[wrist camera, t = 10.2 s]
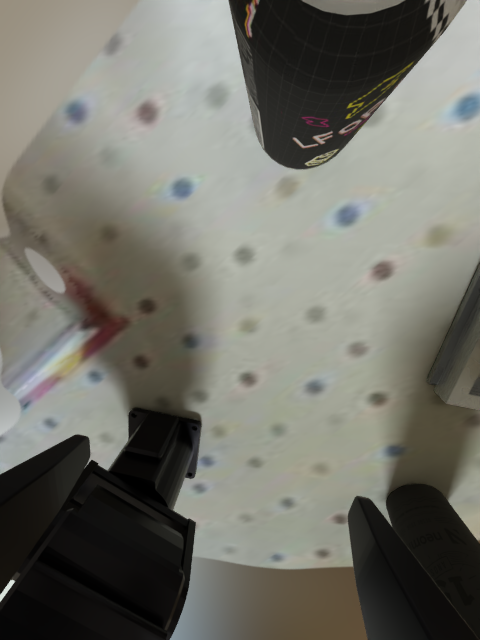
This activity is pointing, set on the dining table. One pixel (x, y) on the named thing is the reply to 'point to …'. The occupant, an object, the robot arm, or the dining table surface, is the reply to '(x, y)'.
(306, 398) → the dining table surface
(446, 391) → the frame
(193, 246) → the dining table surface
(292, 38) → the beverage can
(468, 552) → the drinking cup
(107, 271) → the dining table surface
